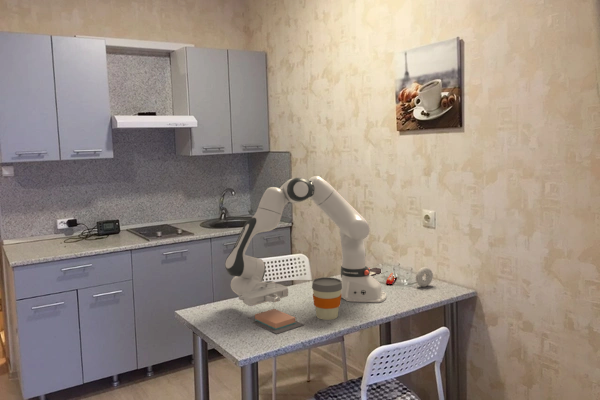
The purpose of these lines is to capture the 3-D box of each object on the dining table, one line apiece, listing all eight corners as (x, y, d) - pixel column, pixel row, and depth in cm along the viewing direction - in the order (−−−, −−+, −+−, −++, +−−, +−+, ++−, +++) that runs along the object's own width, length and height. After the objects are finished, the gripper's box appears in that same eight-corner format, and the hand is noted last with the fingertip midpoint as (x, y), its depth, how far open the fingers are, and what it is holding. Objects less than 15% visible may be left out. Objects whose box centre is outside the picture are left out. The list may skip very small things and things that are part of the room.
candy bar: (392, 286, 253) (392, 280, 252) (385, 285, 254) (385, 279, 254) (397, 277, 268) (397, 272, 267) (391, 277, 269) (391, 271, 269)
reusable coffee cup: (318, 309, 219) (318, 276, 217) (345, 312, 214) (345, 278, 212) (307, 319, 207) (307, 283, 206) (336, 323, 203) (336, 287, 201)
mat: (252, 322, 204) (252, 321, 204) (279, 314, 213) (279, 313, 213) (276, 334, 192) (276, 333, 192) (304, 325, 201) (304, 324, 201)
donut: (418, 288, 247) (418, 269, 246) (413, 287, 250) (414, 267, 249) (434, 286, 251) (434, 266, 250) (429, 284, 254) (429, 265, 253)
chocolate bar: (388, 270, 280) (367, 276, 267) (388, 272, 280) (367, 278, 268) (375, 267, 286) (354, 273, 274) (375, 269, 286) (354, 275, 274)
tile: (254, 314, 205) (275, 323, 195) (274, 308, 212) (295, 317, 201) (255, 320, 206) (275, 329, 195) (274, 314, 212) (295, 323, 202)
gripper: (236, 289, 205) (255, 297, 194) (275, 280, 218) (296, 287, 207) (236, 304, 205) (256, 313, 195) (276, 294, 219) (296, 301, 208)
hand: (277, 299), depth 201 cm, fingers closed
